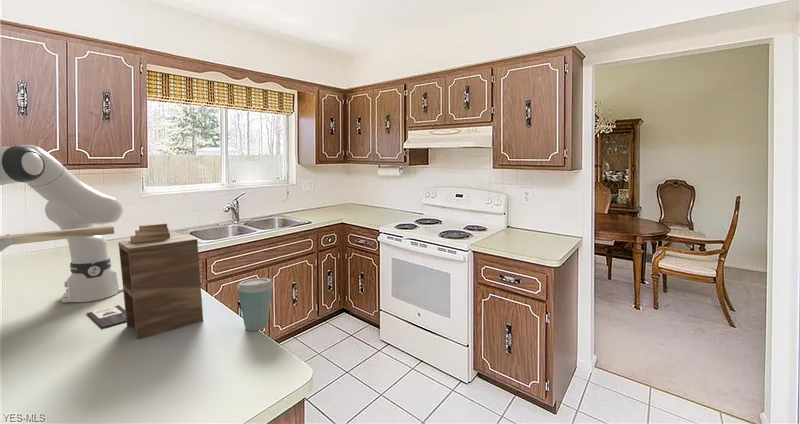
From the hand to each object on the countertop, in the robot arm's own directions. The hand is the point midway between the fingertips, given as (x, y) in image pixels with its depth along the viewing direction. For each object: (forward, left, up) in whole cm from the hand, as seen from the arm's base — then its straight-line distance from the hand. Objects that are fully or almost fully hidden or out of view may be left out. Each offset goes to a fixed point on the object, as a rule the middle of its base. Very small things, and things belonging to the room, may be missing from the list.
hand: (12, 237), depth 94 cm
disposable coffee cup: (+24, +50, -33) cm, 65 cm away
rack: (0, +31, -33) cm, 45 cm away
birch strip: (0, +8, -1) cm, 8 cm away
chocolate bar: (-19, +21, -33) cm, 44 cm away
